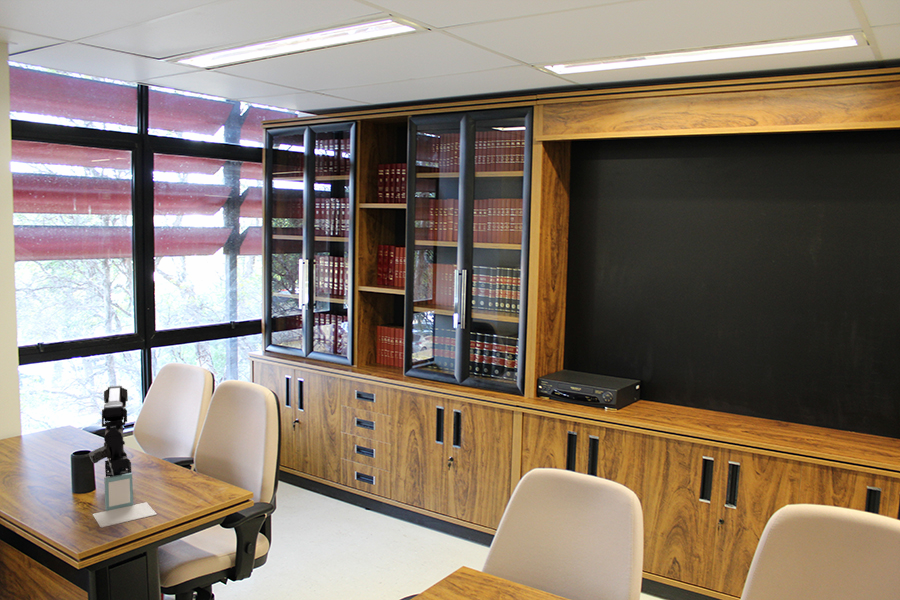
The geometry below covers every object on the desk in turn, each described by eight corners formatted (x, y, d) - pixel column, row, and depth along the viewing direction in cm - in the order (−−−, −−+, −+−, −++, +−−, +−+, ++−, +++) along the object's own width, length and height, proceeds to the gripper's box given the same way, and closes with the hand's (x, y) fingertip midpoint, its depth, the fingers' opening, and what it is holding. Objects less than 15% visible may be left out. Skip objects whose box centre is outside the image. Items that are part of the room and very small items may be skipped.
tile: (105, 510, 240) (104, 477, 239) (132, 504, 246) (131, 472, 245) (106, 511, 239) (105, 479, 238) (133, 505, 244) (132, 473, 243)
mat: (92, 514, 236) (92, 513, 236) (146, 502, 247) (146, 502, 247) (100, 527, 225) (100, 526, 225) (156, 514, 236) (156, 514, 236)
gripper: (85, 437, 246) (86, 478, 247) (95, 448, 231) (96, 492, 232) (118, 432, 253) (119, 472, 254) (129, 443, 238) (131, 485, 239)
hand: (116, 480), depth 245 cm, fingers closed
